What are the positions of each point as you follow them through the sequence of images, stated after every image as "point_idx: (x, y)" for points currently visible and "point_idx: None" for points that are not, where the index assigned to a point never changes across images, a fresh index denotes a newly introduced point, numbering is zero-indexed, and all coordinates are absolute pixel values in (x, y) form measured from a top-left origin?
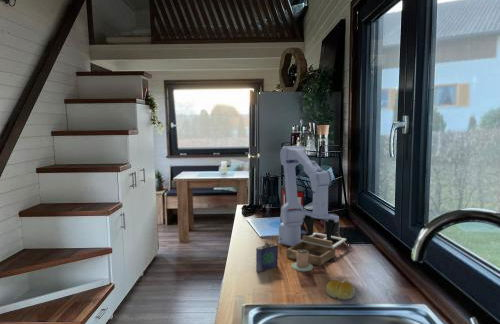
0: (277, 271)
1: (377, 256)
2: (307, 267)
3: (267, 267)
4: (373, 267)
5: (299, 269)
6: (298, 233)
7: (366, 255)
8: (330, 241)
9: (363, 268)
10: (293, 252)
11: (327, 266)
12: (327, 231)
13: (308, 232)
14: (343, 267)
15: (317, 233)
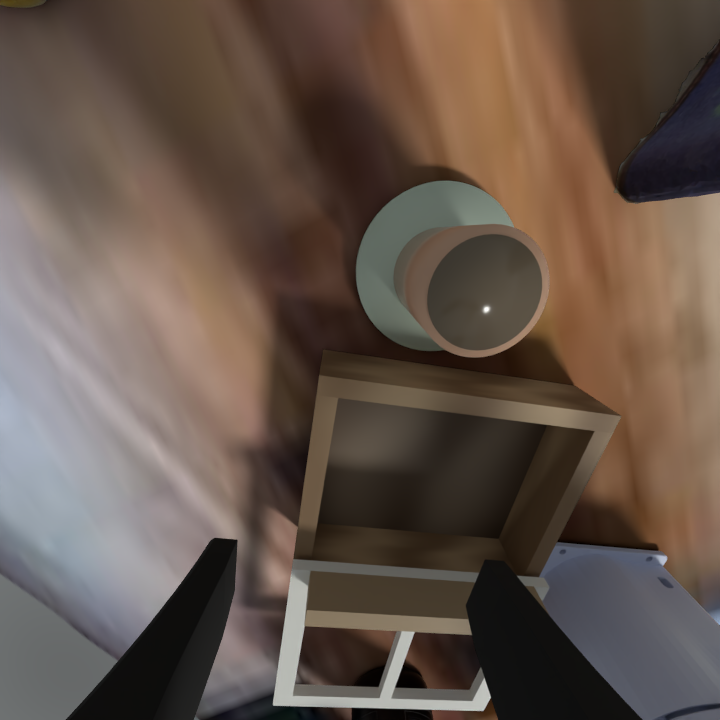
0: (604, 100)
1: (97, 615)
2: (392, 259)
3: (716, 73)
4: (33, 484)
5: (439, 185)
6: (587, 655)
7: (152, 603)
8: (314, 615)
9: (74, 446)
10: (556, 401)
11: (283, 374)
12: (149, 687)
13: (536, 601)
14: (186, 406)
15: (464, 704)
